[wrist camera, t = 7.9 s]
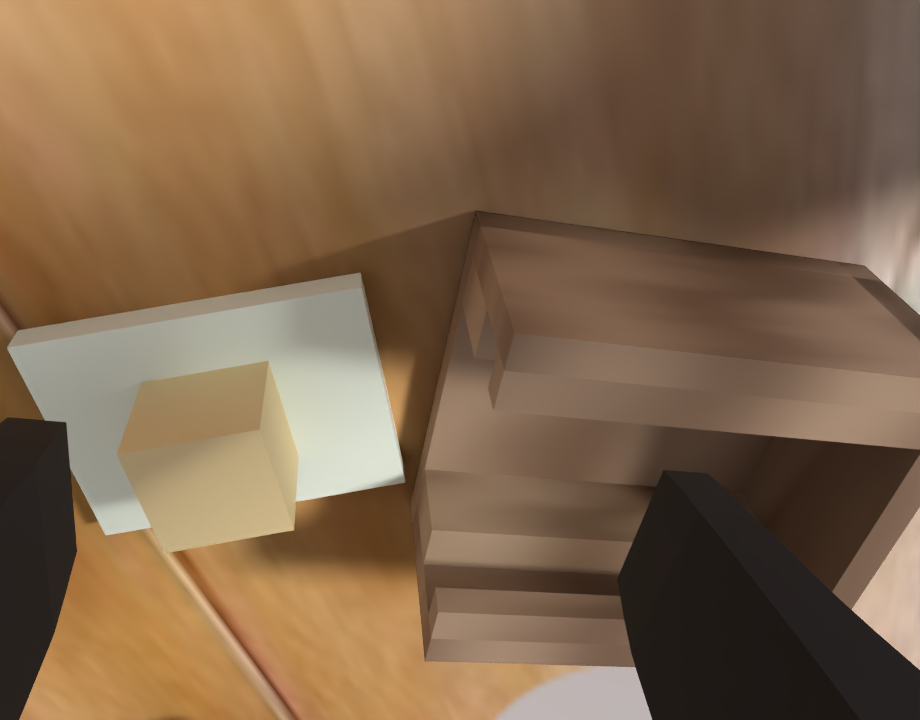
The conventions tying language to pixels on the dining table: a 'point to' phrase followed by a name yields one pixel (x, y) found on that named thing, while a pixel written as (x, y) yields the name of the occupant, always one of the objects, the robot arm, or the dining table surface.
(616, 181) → the dining table surface
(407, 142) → the dining table surface
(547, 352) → the walnut box
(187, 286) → the dining table surface
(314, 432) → the cover plate
